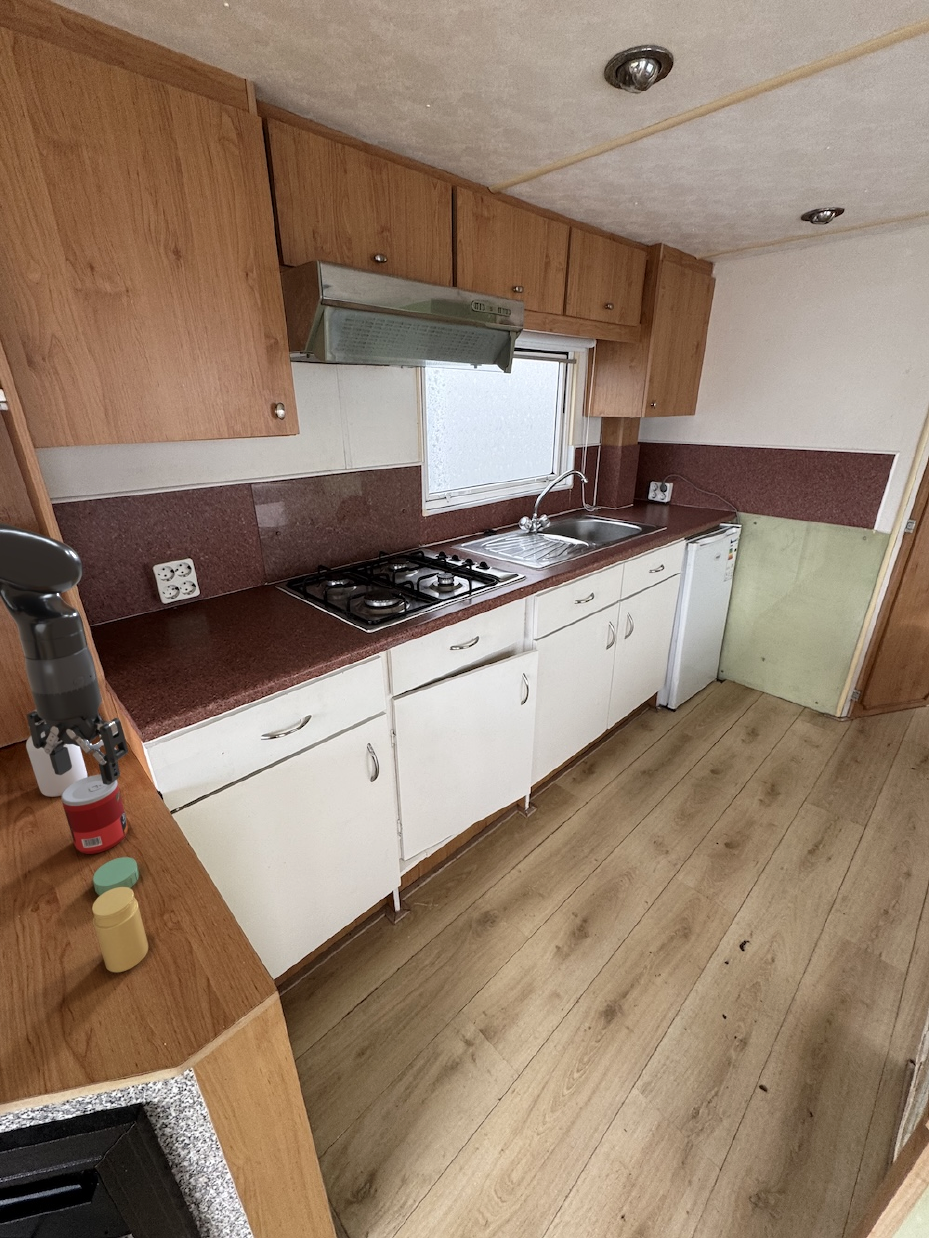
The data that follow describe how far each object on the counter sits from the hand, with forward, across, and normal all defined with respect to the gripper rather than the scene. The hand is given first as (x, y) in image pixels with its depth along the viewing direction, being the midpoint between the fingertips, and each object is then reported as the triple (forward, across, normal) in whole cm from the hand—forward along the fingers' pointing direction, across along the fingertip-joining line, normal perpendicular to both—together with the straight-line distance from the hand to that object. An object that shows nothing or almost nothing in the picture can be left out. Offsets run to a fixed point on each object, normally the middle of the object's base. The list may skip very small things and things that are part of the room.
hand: (87, 776), depth 80 cm
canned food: (+20, +9, -7) cm, 23 cm away
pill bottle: (+21, +29, -17) cm, 39 cm away
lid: (+18, -1, 0) cm, 18 cm away
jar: (+20, -13, +10) cm, 26 cm away
